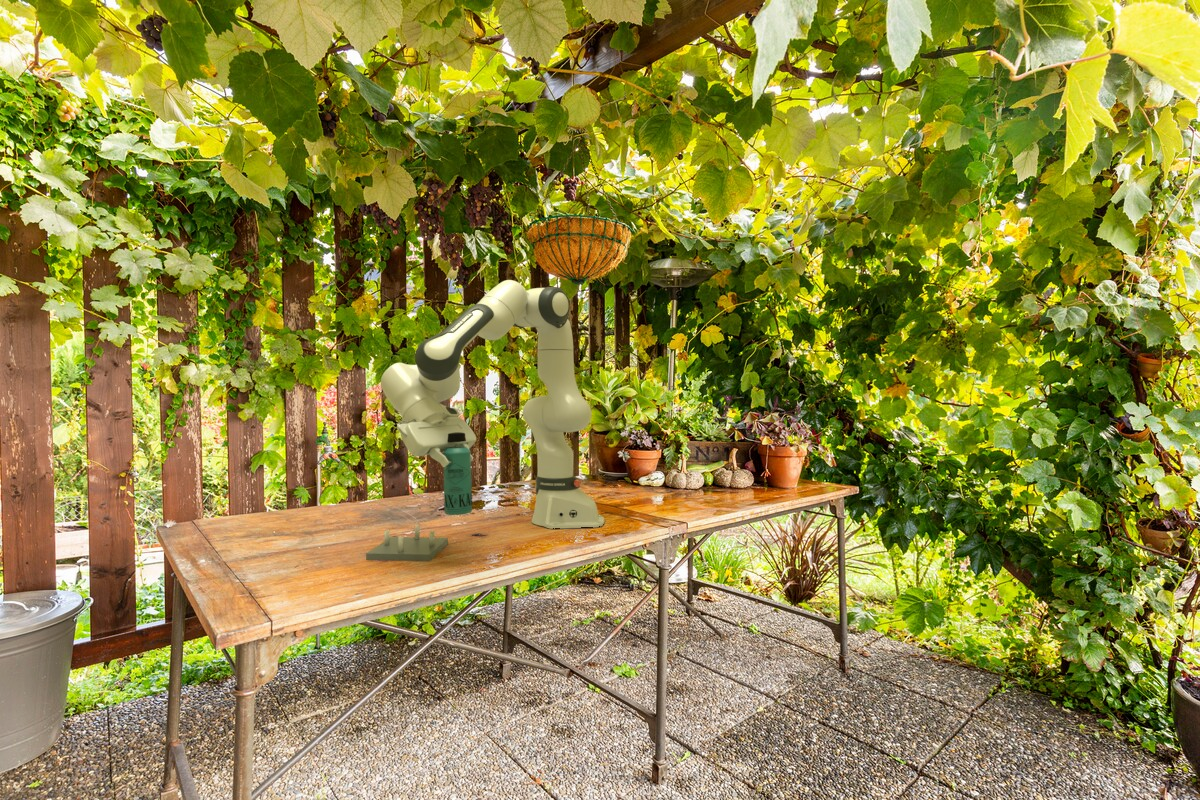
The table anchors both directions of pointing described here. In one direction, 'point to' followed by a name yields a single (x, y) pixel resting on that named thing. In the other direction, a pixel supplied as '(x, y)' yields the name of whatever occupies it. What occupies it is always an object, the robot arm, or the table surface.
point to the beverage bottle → (457, 478)
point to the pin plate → (407, 547)
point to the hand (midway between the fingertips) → (459, 463)
